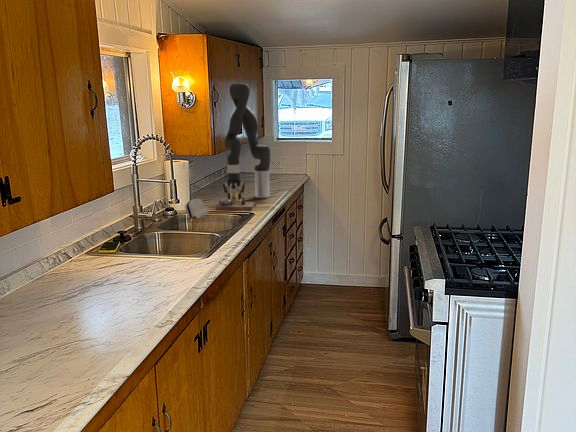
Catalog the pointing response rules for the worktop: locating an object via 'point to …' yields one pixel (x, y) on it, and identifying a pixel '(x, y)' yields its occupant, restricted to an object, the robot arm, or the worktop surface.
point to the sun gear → (226, 202)
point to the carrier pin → (243, 201)
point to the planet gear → (235, 196)
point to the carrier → (237, 206)
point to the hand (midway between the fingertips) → (234, 199)
